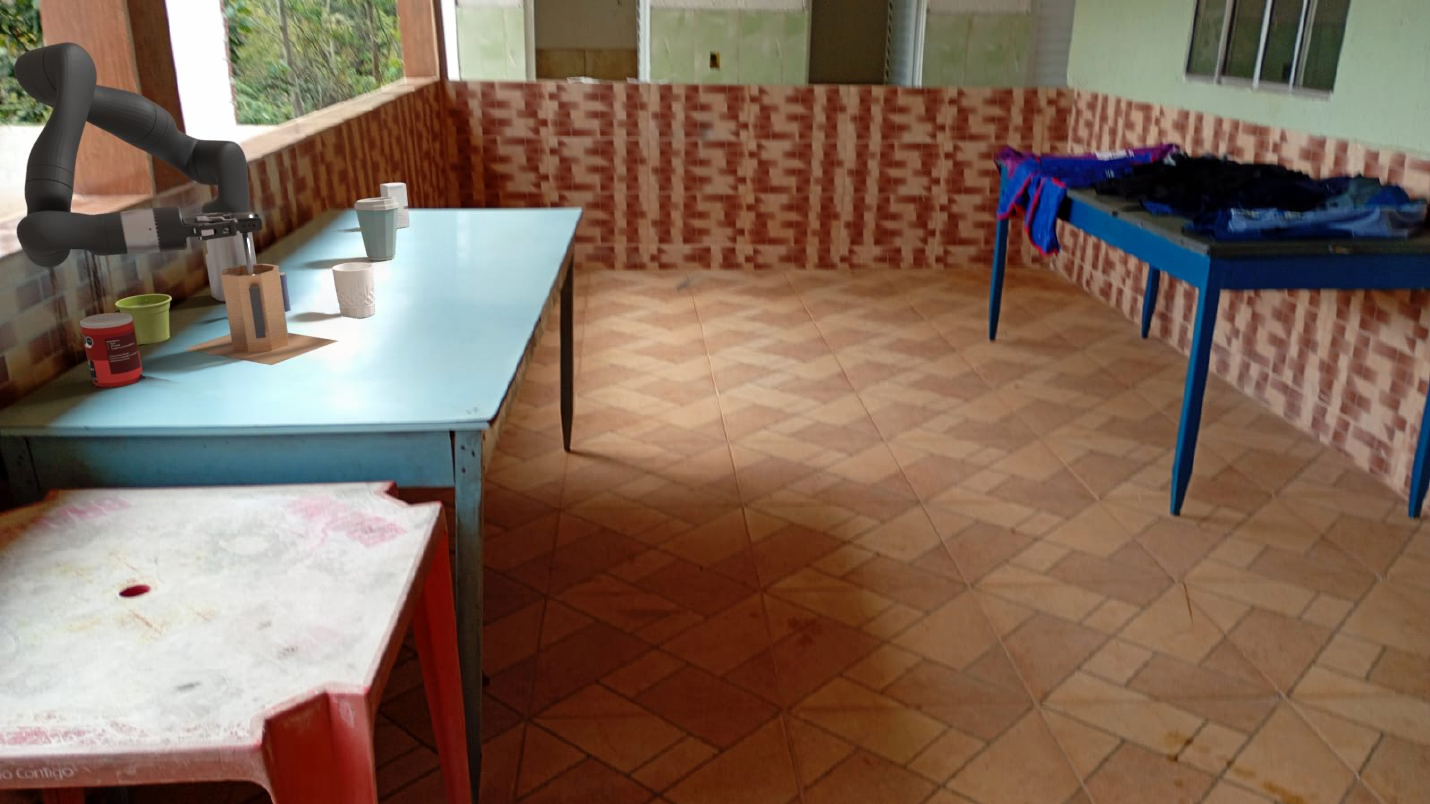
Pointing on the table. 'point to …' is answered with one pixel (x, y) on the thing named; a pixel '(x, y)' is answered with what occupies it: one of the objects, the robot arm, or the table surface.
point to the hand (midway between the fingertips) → (259, 221)
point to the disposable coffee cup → (378, 226)
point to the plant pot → (148, 316)
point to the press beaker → (255, 308)
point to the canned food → (111, 349)
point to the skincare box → (401, 197)
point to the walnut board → (294, 348)
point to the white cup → (355, 289)
